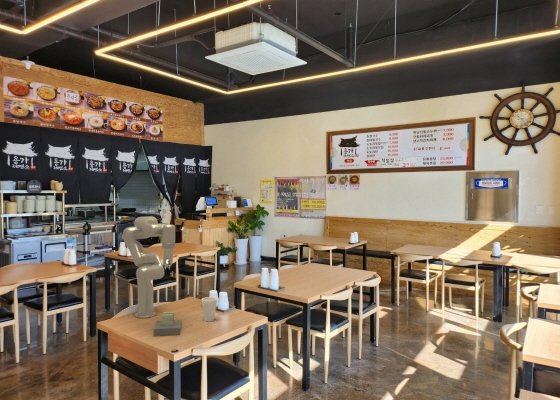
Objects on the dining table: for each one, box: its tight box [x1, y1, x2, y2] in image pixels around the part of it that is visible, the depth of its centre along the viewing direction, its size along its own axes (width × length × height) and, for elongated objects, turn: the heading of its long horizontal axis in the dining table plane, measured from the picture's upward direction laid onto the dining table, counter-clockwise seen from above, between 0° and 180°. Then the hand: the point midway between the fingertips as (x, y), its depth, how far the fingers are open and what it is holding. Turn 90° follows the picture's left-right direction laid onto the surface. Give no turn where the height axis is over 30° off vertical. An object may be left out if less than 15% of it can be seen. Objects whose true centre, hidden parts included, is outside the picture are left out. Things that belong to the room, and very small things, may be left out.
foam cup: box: [201, 296, 218, 323], centre depth 246 cm, size 10×9×13 cm
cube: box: [161, 311, 175, 326], centre depth 225 cm, size 6×6×6 cm
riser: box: [153, 319, 182, 337], centre depth 225 cm, size 14×14×4 cm
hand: (168, 274), depth 234 cm, fingers open, 9 cm apart
